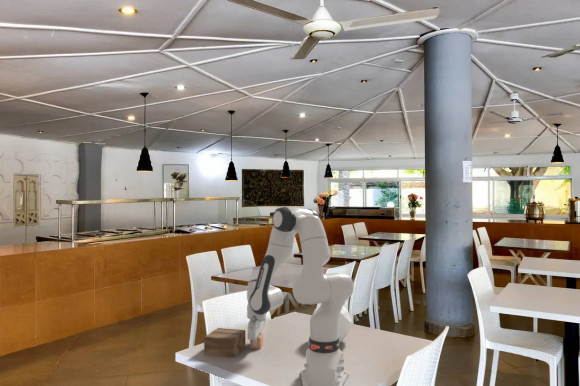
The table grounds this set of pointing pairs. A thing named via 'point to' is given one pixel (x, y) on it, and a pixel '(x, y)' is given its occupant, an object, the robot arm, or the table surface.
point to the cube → (259, 342)
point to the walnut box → (224, 342)
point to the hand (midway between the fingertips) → (256, 343)
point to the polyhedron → (342, 323)
